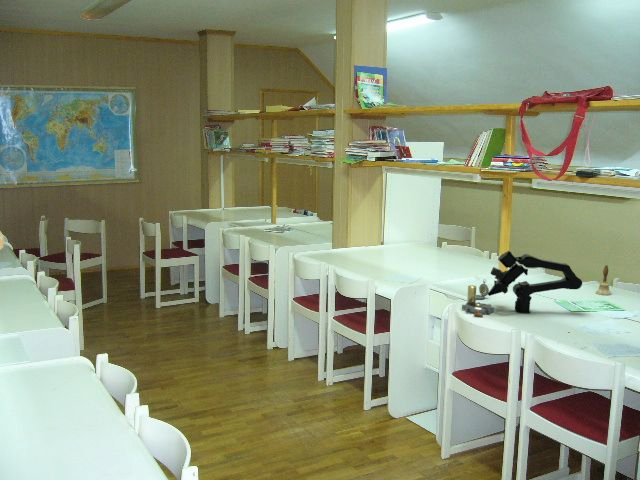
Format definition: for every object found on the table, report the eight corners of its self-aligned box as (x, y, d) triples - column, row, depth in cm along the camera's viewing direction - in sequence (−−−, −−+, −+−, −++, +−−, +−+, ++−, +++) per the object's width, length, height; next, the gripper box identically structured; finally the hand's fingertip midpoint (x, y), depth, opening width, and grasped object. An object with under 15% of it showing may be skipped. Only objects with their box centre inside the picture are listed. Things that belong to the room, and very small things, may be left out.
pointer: (482, 316, 321) (482, 313, 321) (482, 317, 318) (482, 315, 318) (474, 315, 322) (474, 312, 322) (474, 317, 319) (474, 314, 319)
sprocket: (478, 304, 340) (479, 283, 338) (501, 312, 327) (502, 290, 325) (455, 308, 332) (456, 286, 331) (477, 316, 319) (478, 293, 317)
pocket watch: (470, 298, 354) (471, 280, 352) (474, 295, 361) (475, 277, 360) (486, 300, 350) (487, 282, 349) (489, 297, 358) (490, 279, 356)
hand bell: (608, 292, 374) (611, 264, 372) (613, 295, 366) (616, 267, 364) (593, 291, 375) (595, 263, 373) (598, 295, 367) (600, 266, 364)
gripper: (500, 258, 337) (476, 279, 342) (501, 266, 319) (477, 287, 324) (515, 274, 337) (492, 295, 341) (518, 283, 319) (493, 304, 323)
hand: (488, 294), depth 332 cm, fingers closed
